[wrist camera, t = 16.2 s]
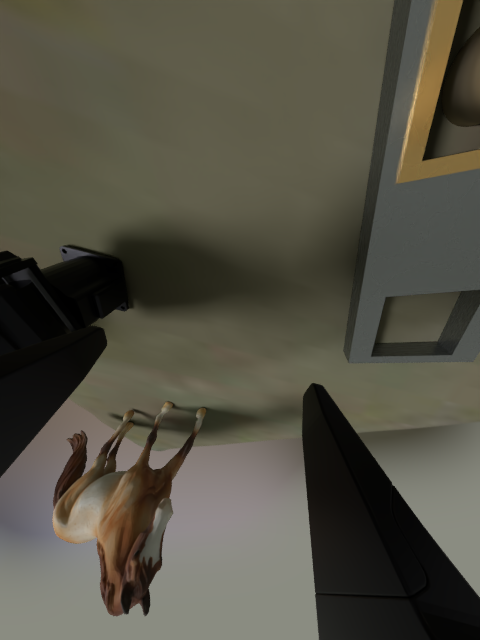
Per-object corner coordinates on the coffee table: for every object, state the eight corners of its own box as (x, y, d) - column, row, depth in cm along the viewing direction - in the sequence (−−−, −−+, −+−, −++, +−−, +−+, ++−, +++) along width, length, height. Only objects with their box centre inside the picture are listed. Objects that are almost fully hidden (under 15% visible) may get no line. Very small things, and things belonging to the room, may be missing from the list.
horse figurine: (208, 385, 31) (126, 626, 14) (231, 413, 34) (188, 632, 17) (89, 410, 42) (-36, 560, 25) (115, 429, 45) (21, 572, 29)
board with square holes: (457, 347, 20) (474, 363, 19) (343, 350, 23) (349, 364, 21) (741, -162, 7) (897, -279, 5) (398, -27, 10) (426, -76, 8)
